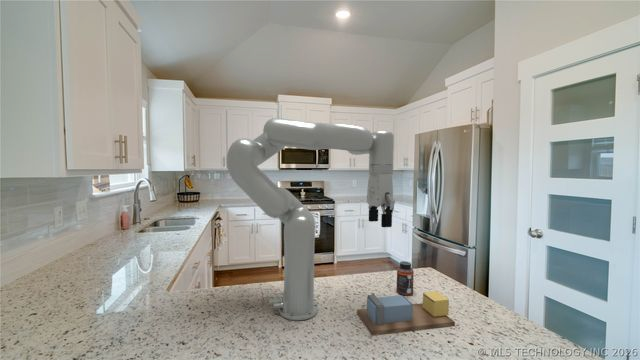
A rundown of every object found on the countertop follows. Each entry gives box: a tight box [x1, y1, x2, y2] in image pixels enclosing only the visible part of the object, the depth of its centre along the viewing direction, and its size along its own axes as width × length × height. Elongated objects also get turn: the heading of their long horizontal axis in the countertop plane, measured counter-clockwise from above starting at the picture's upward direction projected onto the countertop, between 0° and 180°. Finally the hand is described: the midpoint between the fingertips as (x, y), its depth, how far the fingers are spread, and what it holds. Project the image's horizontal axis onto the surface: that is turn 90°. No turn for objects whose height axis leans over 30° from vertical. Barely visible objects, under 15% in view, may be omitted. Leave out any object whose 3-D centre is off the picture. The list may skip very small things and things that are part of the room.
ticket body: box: [366, 294, 414, 326], centre depth 81 cm, size 12×8×6 cm, turn 102°
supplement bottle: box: [396, 260, 415, 296], centre depth 101 cm, size 6×6×11 cm
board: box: [356, 302, 456, 336], centre depth 83 cm, size 26×12×1 cm, turn 102°
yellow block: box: [422, 291, 450, 317], centre depth 85 cm, size 5×6×5 cm
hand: (379, 224), depth 86 cm, fingers open, 9 cm apart
